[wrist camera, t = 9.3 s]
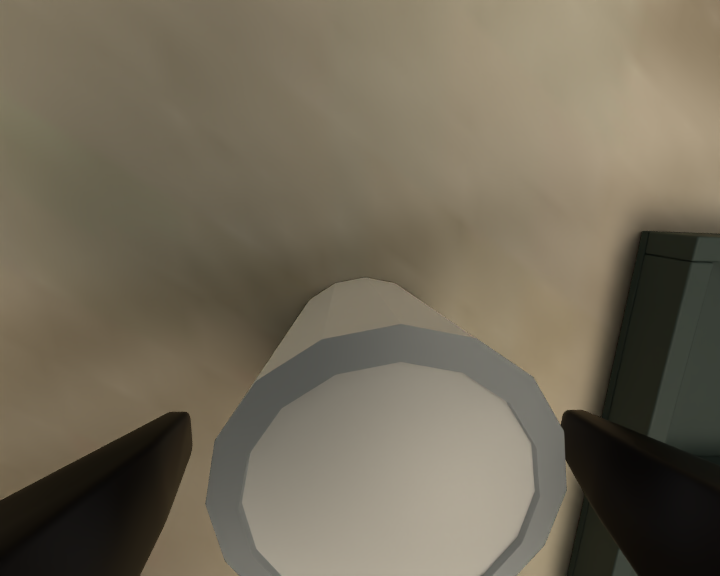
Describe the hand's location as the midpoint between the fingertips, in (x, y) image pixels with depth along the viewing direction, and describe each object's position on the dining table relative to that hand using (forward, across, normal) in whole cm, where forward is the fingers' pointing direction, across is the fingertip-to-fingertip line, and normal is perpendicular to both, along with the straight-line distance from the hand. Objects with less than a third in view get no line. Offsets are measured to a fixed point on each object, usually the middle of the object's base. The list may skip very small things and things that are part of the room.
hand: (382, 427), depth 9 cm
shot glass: (+5, 0, 0) cm, 5 cm away
